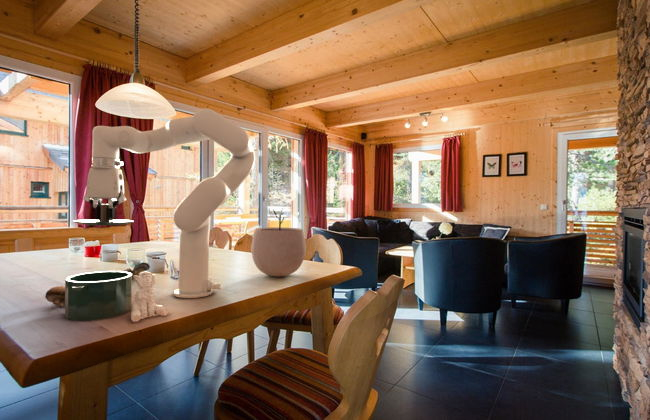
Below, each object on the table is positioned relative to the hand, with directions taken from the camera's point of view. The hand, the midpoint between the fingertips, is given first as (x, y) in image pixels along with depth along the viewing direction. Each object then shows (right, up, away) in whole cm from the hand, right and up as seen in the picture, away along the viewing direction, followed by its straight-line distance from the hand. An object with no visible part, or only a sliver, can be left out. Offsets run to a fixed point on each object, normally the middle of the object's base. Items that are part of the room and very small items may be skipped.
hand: (104, 219), depth 115 cm
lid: (0, -1, 0) cm, 1 cm away
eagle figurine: (-3, -25, +26) cm, 36 cm away
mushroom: (-5, -25, -12) cm, 28 cm away
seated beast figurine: (+23, -26, -19) cm, 40 cm away
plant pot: (+52, -26, +40) cm, 71 cm away
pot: (+9, -26, -17) cm, 32 cm away
